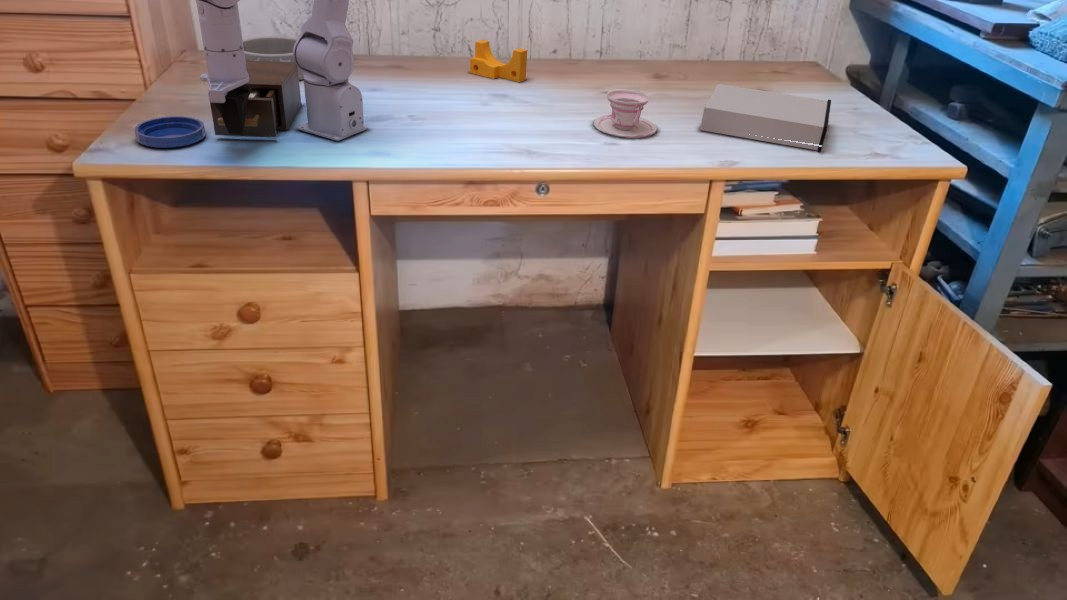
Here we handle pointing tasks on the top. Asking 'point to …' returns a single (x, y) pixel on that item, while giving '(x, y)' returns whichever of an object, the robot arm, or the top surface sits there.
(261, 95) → the drawer
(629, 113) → the teacup
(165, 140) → the blue saucer
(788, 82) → the top surface
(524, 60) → the pipe clamp
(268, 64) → the cabinet
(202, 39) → the robot arm
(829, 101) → the disc drive
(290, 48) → the dog bowl
